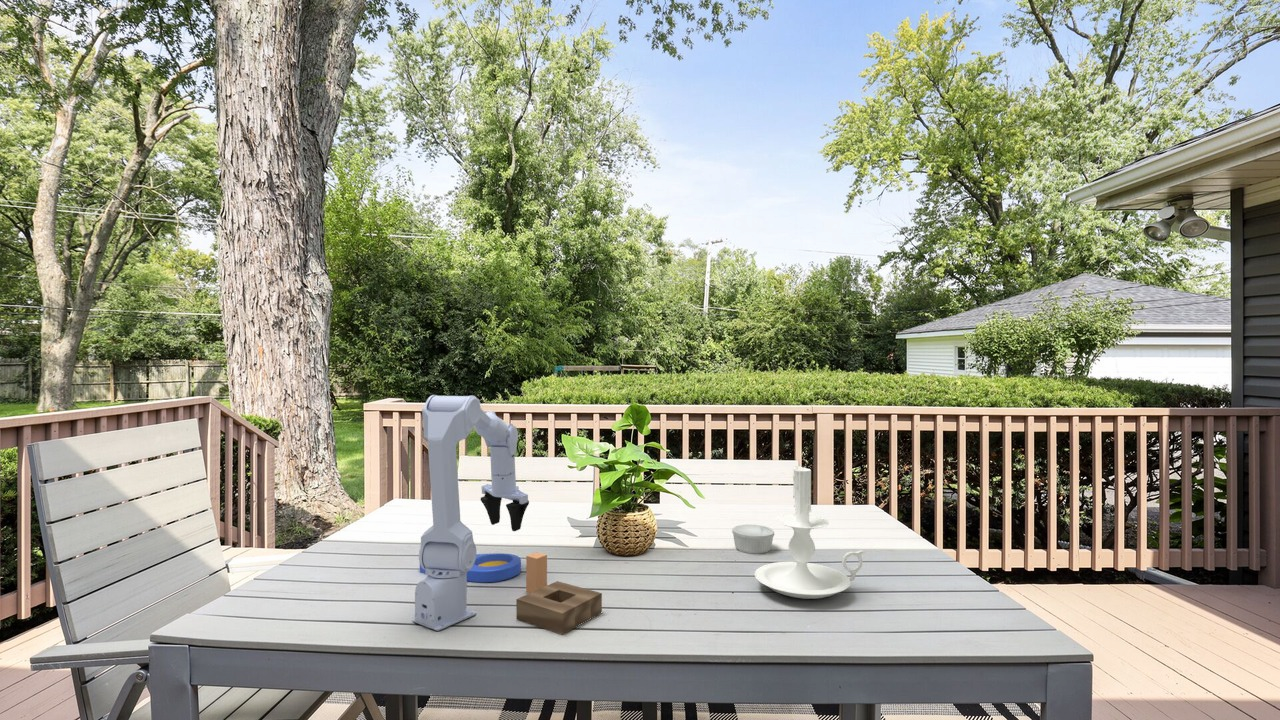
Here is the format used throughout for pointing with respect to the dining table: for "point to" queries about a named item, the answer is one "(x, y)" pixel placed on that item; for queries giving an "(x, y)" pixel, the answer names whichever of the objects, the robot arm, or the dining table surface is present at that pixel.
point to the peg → (536, 571)
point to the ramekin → (753, 538)
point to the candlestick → (805, 553)
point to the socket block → (558, 607)
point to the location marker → (492, 567)
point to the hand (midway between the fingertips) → (505, 526)
